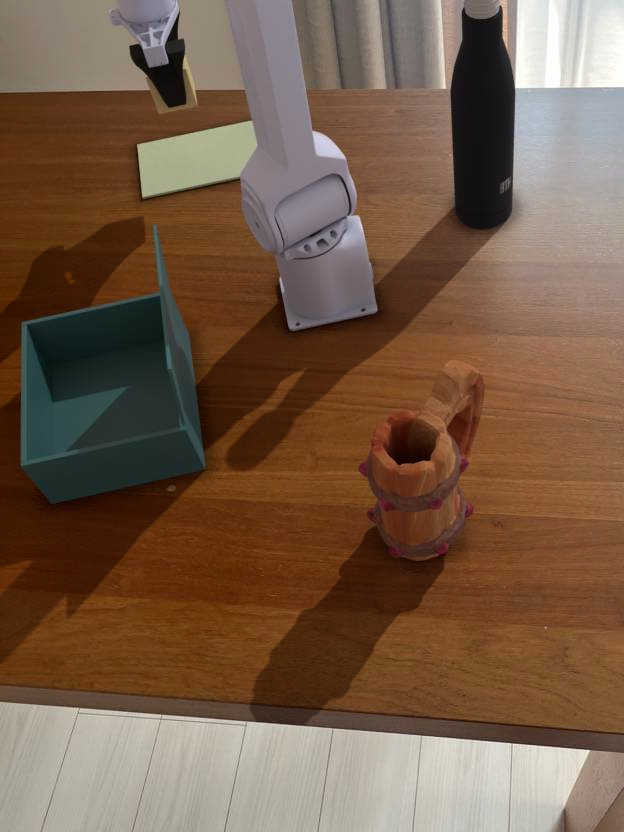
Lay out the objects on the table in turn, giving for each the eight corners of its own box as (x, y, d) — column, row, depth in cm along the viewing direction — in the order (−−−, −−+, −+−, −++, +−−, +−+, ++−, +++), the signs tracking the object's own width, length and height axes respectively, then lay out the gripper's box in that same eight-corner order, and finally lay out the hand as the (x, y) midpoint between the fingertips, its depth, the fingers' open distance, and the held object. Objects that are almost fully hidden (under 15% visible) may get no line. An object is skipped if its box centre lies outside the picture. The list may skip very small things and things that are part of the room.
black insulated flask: (458, 189, 101) (447, -104, 75) (514, 191, 100) (523, -105, 74) (451, 228, 98) (438, -63, 72) (509, 230, 97) (517, -64, 71)
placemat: (263, 120, 110) (263, 117, 110) (274, 171, 106) (274, 168, 105) (137, 146, 110) (137, 144, 110) (143, 199, 105) (142, 197, 105)
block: (194, 82, 100) (182, 45, 96) (197, 106, 98) (186, 68, 94) (155, 90, 100) (142, 53, 96) (158, 114, 98) (145, 77, 94)
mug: (433, 592, 77) (423, 501, 64) (356, 551, 79) (330, 456, 66) (515, 469, 82) (520, 361, 69) (439, 434, 85) (431, 325, 72)
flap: (166, 285, 88) (169, 285, 88) (181, 425, 79) (185, 424, 79) (152, 224, 81) (156, 224, 81) (167, 369, 73) (171, 368, 73)
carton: (189, 334, 94) (170, 289, 88) (205, 470, 85) (185, 429, 79) (49, 365, 93) (21, 322, 88) (51, 504, 84) (20, 466, 79)
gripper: (89, -69, 90) (135, 60, 101) (94, 10, 82) (143, 138, 94) (157, -83, 90) (196, 47, 102) (169, -5, 83) (208, 125, 95)
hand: (175, 90), depth 98 cm, fingers closed on block, 4 cm apart
